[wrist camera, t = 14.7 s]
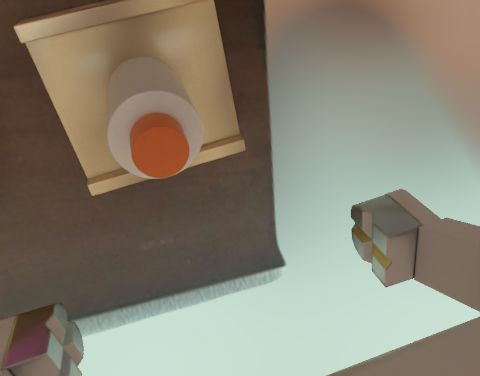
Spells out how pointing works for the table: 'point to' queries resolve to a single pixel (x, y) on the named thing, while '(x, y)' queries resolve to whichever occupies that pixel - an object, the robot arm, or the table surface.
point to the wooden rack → (118, 51)
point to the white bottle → (151, 119)
